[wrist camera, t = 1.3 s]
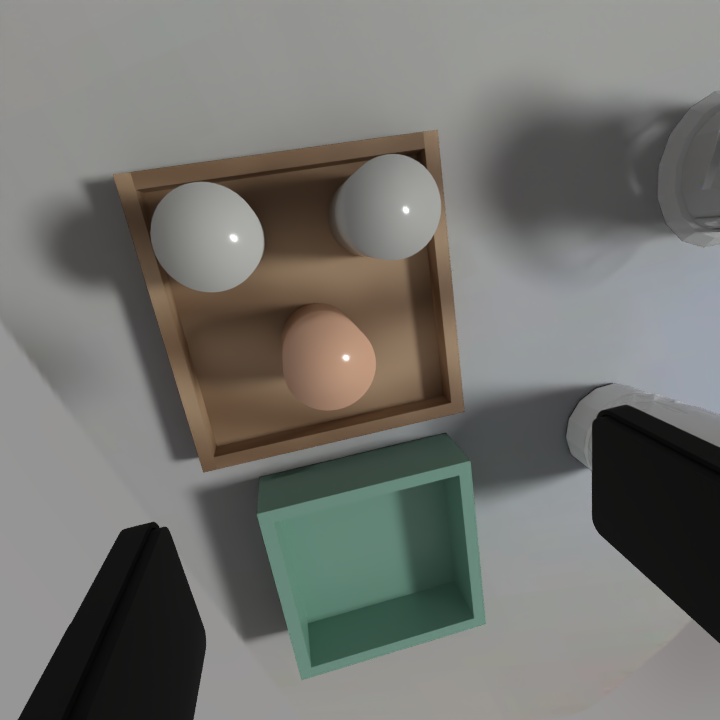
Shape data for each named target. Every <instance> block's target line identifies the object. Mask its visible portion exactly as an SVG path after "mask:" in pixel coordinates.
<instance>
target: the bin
mask: <svg viewBox="0 0 720 720" xmlns="http://www.w3.org/2000/svg"><path fill="white" fill-rule="evenodd" d="M257 517H258V521H259V525H260V528H261V532H262V536H263V539H264V543H265V547H266V551H267V554H268V558H269V562H270V565H271V569H272V573H273V576H274V580H275V584H276V587H277V591H278V595H279V599H280V602H281V606H282V610H283V613H284V617H285V621H286V624H287V628H288V632H289V635H290V639H291V643H292V646H293V650H294V654H295V658H296V661H297V665H298V669H299V672H300V676H301V680H304V679H307V678H310V677H314V676H317V675H320V674H323V673H327V672H330V671H333V670H337V669H340V668H343V667H346V666H350V665H353V664H356V663H359V662H363V661H366V660H369V659H373V658H376V657H379V656H382V655H386V654H389V653H392V652H395V651H399V650H402V649H405V648H409V647H412V646H415V645H418V644H422V643H425V642H428V641H431V640H435V639H438V638H441V637H445V636H448V635H451V634H454V633H458V632H461V631H464V630H467V629H471V628H474V627H477V626H481V625H484V624H486V621H485V610H484V599H483V589H482V578H481V567H480V557H479V546H478V535H477V525H476V514H475V503H474V493H473V482H472V471H471V461H470V460H469V459H468V457H467V456H466V455H465V454H464V453H463V452H462V451H461V450H460V448H459V447H458V446H457V445H456V444H455V443H454V442H453V440H452V439H451V438H450V437H449V436H448V435H447V434H446V433H444V434H440V435H436V436H431V437H427V438H423V439H419V440H415V441H410V442H406V443H402V444H398V445H394V446H389V447H385V448H381V449H377V450H373V451H368V452H364V453H360V454H356V455H352V456H348V457H343V458H339V459H335V460H331V461H327V462H322V463H318V464H314V465H310V466H306V467H301V468H297V469H293V470H289V471H285V472H280V473H276V474H272V475H268V476H264V477H260V478H259V490H258V503H257Z"/></svg>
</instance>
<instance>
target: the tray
mask: <svg viewBox="0 0 720 720" xmlns="http://www.w3.org/2000/svg"><path fill="white" fill-rule="evenodd" d="M386 154H400V155H404V156H407V157H410V158H412V159H414V160H416V161H418V162H419V163H420V164H422V165H423V166H424V167H425V168H426V169H427V170H428V171H429V173H430V174H431V175H432V177H433V178H434V180H435V182H436V184H437V187H438V190H439V193H440V199H441V215H440V220H439V224H438V227H437V229H436V231H435V233H434V235H433V237H432V238H431V240H430V241H429V242H428V244H427V245H426V246H425V247H424V248H423V249H421V250H420V251H419V252H417V253H416V254H414V255H412V256H410V257H407V258H404V259H400V260H384V259H378V258H371V257H365V256H359V255H355V254H352V253H350V252H348V251H347V250H345V249H344V248H342V247H341V246H340V245H339V244H338V243H337V241H336V240H335V238H334V237H333V235H332V233H331V230H330V227H329V223H328V209H329V204H330V201H331V198H332V196H333V194H334V193H335V191H336V190H337V189H338V187H339V186H340V185H341V184H342V183H344V182H345V181H346V180H347V179H348V178H349V177H350V176H351V175H352V174H354V173H355V172H356V171H357V170H358V169H359V168H360V167H361V166H363V165H364V164H365V163H367V162H368V161H370V160H371V159H373V158H376V157H378V156H382V155H386ZM113 177H114V180H115V183H116V187H117V190H118V193H119V197H120V200H121V203H122V206H123V210H124V213H125V216H126V220H127V223H128V226H129V229H130V233H131V236H132V239H133V243H134V246H135V249H136V252H137V256H138V259H139V262H140V266H141V269H142V272H143V275H144V279H145V282H146V285H147V289H148V292H149V295H150V298H151V302H152V305H153V308H154V312H155V315H156V318H157V322H158V325H159V328H160V331H161V335H162V338H163V341H164V345H165V348H166V351H167V354H168V358H169V361H170V364H171V368H172V371H173V374H174V377H175V381H176V384H177V387H178V391H179V394H180V397H181V400H182V404H183V407H184V410H185V414H186V417H187V420H188V423H189V427H190V430H191V433H192V437H193V440H194V443H195V447H196V450H197V453H198V456H199V460H200V463H201V466H202V470H203V472H208V471H212V470H216V469H220V468H225V467H229V466H233V465H238V464H242V463H246V462H250V461H255V460H259V459H263V458H268V457H272V456H276V455H280V454H285V453H289V452H293V451H298V450H302V449H306V448H311V447H315V446H319V445H323V444H328V443H332V442H336V441H341V440H345V439H349V438H353V437H358V436H362V435H366V434H371V433H375V432H379V431H383V430H388V429H392V428H396V427H401V426H405V425H409V424H414V423H418V422H422V421H426V420H431V419H435V418H439V417H444V416H448V415H452V414H456V413H461V412H464V402H463V392H462V381H461V371H460V360H459V350H458V339H457V329H456V318H455V308H454V297H453V286H452V276H451V265H450V255H449V244H448V234H447V223H446V213H445V202H444V192H443V181H442V170H441V160H440V149H439V139H438V130H432V131H425V132H418V133H411V134H403V135H396V136H389V137H382V138H374V139H367V140H360V141H353V142H345V143H338V144H331V145H324V146H317V147H309V148H302V149H295V150H288V151H280V152H273V153H266V154H259V155H251V156H244V157H237V158H230V159H222V160H215V161H208V162H201V163H193V164H186V165H179V166H172V167H164V168H157V169H150V170H143V171H135V172H128V173H121V174H114V175H113ZM192 182H210V183H215V184H218V185H222V186H224V187H226V188H228V189H230V190H232V191H233V192H235V193H237V194H238V195H239V196H240V197H241V198H243V199H244V200H245V201H246V203H247V204H248V205H249V206H250V207H251V209H252V210H253V211H254V213H255V214H256V215H257V217H258V218H259V220H260V222H261V224H262V226H263V229H264V232H265V238H266V246H265V252H264V255H263V258H262V260H261V262H260V264H259V265H258V266H257V268H256V269H255V270H254V271H253V272H252V274H251V275H250V276H249V277H248V278H247V279H246V280H245V281H244V282H242V283H241V284H239V285H238V286H236V287H234V288H231V289H229V290H225V291H221V292H202V291H197V290H194V289H191V288H188V287H186V286H184V285H182V284H180V283H179V282H177V281H176V280H175V279H173V278H172V277H171V276H170V275H169V274H168V273H167V272H166V271H165V270H164V268H163V267H162V266H161V264H160V263H159V261H158V259H157V257H156V255H155V253H154V250H153V247H152V242H151V234H150V232H151V222H152V218H153V215H154V212H155V210H156V208H157V206H158V204H159V203H160V202H161V200H162V199H163V198H164V197H165V196H166V195H167V194H168V193H169V192H171V191H172V190H174V189H175V188H177V187H179V186H182V185H184V184H188V183H192ZM312 303H325V304H329V305H332V306H334V307H336V308H338V309H340V310H341V311H342V312H343V313H344V314H345V315H346V316H347V317H348V318H349V319H350V320H351V321H352V322H353V323H354V324H355V325H356V326H357V328H358V329H359V330H360V331H361V332H362V333H363V334H364V335H365V336H366V337H367V339H368V340H369V341H370V343H371V345H372V347H373V350H374V353H375V358H376V370H375V375H374V378H373V381H372V383H371V385H370V387H369V389H368V390H367V391H366V393H365V394H364V395H363V396H362V397H361V398H360V399H359V400H357V401H356V402H355V403H353V404H351V405H349V406H347V407H345V408H341V409H338V410H328V411H326V410H318V409H314V408H311V407H309V406H307V405H305V404H303V403H302V402H300V401H299V400H298V399H297V398H296V397H295V396H294V395H293V394H292V393H291V392H290V390H289V388H288V386H287V384H286V382H285V379H284V374H283V361H282V331H283V327H284V325H285V323H286V321H287V319H288V318H289V317H290V315H291V314H292V313H293V312H295V311H296V310H297V309H299V308H301V307H302V306H305V305H308V304H312Z"/></svg>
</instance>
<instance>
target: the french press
mask: <svg viewBox="0 0 720 720" xmlns="http://www.w3.org/2000/svg"><path fill="white" fill-rule="evenodd" d="M657 198H658V201H659V204H660V207H661V210H662V213H663V216H664V220H665V223H666V224H667V225H668V226H669V227H670V229H671V230H672V231H673V232H674V233H675V234H676V235H677V236H678V237H679V238H680V239H681V240H682V241H684V242H688V243H691V244H694V245H698V246H701V247H708V246H713V245H718V244H720V91H716V92H713V93H712V94H710V95H709V96H707V97H706V98H704V99H703V100H701V101H700V102H698V103H697V104H695V105H694V106H692V107H691V108H689V110H688V111H687V112H686V114H685V115H684V117H683V118H682V119H681V121H680V122H679V123H678V125H677V126H676V127H675V129H674V130H673V131H672V133H671V134H670V136H669V139H668V141H667V144H666V147H665V150H664V153H663V155H662V158H661V161H660V164H659V168H658V194H657Z"/></svg>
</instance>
